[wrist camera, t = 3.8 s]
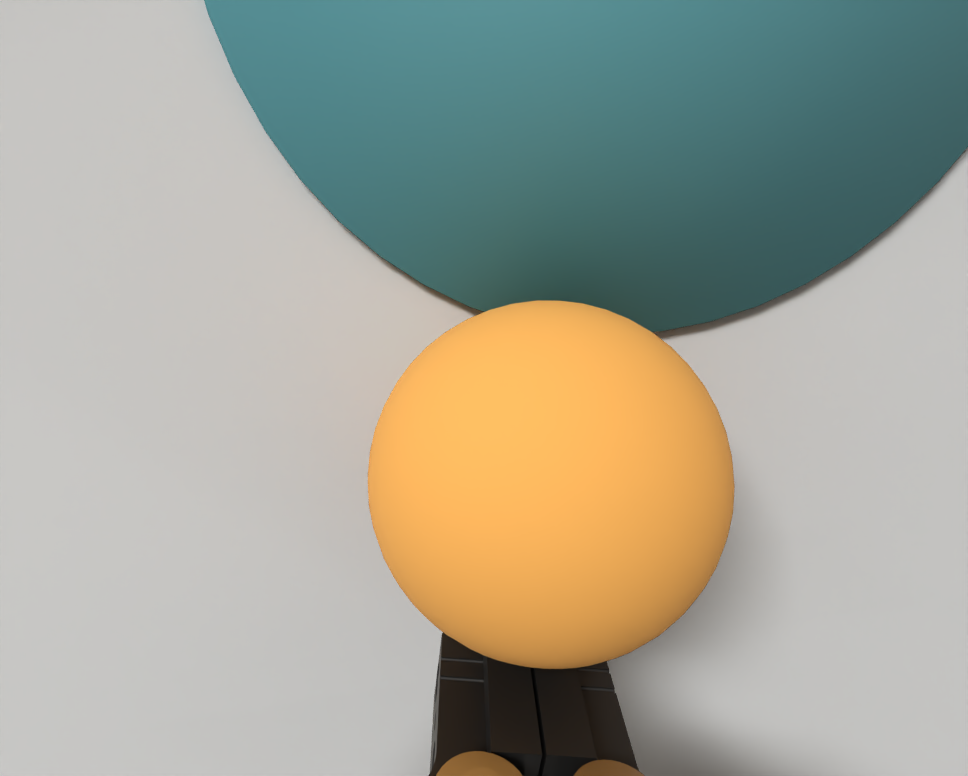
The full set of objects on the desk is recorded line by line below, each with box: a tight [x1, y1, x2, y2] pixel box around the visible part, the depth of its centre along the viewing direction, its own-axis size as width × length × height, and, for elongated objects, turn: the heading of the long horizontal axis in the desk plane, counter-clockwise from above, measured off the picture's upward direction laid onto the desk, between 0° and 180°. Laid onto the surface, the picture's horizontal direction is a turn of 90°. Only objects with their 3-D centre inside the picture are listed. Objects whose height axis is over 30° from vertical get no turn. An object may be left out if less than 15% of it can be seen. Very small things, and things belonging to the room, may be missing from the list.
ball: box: [368, 300, 734, 669], centre depth 10 cm, size 6×6×6 cm
